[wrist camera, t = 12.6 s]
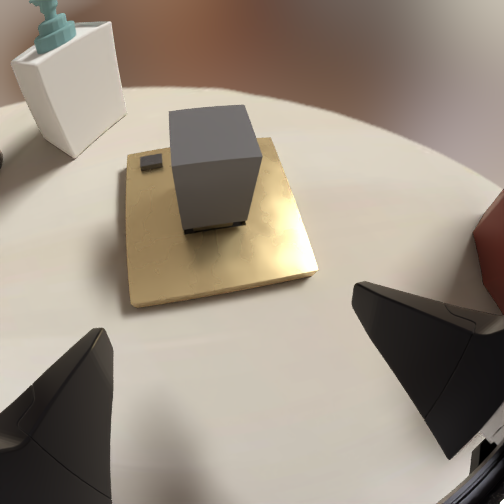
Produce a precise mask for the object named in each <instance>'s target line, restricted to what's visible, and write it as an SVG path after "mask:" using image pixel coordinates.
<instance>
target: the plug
mask: <svg viewBox="0 0 504 504" xmlns="http://www.w3.org/2000/svg"><path fill="white" fill-rule="evenodd" d="M169 130H170V151H171V167H172V173H173V179H174V185H175V191H176V197H177V202H178V208H179V213H180V218H181V223H182V229H183V230H186V229H192V228H193V230H194V231H198V230H205V229H212V228H219V227H225V226H232V225H233V222H240V221H247V219H248V215H249V211H250V207H251V202H252V198H253V194H254V190H255V186H256V182H257V178H258V174H259V170H260V165H261V161H262V157H263V156H262V153H261V150H260V147H259V145H258V142H257V139H256V136H255V133H254V130H253V128H252V125H251V122H250V119H249V116H248V114H247V111H246V108H245V106H244V105H229V106H214V107H203V108H193V109H184V110H176V111H169Z"/></svg>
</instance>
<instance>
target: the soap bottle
mask: <svg viewBox="0 0 504 504" xmlns="http://www.w3.org/2000/svg"><path fill="white" fill-rule="evenodd" d="M29 2H30V3H33V4H34V5H35V6H40V11H41V13H43V14H44V16H45V21H44V22H42V23H41V24H40V25H39V27H38V30H39V34H40V35H39V36H38V37H37V38H36V39H35V40H34V43H35V45H34V46H32V47H31V48H29V49H28V50H26V51H25V52H23V53H22V54H20V55H19V56H18V57H16V58H15V59H14V60H12V61H11V66H12V69H13V71H14V74H15V76H16V79H17V81H18V84H19V86H20V89H21V91H22V93H23V96H24V98H25V100H26V103H27V105H28V107H29V109H30V111H31V113H32V115H33V117H34V120H35V122H36V124H37V126H38V128H39V130H40V132H41V133H42V135H43V137H44V139H46V140H47V141H49V142H50V143H52V144H53V145H55V146H56V147H58V148H59V149H61V150H62V151H64V152H65V153H67V154H68V155H69V156H71V157H72V158H74V159H75V158H77V157H78V156H79V155H80V154H81V153H82V152H83V151H84V150H85V149H86V148H87V147H88V146H89V145H90V144H92V143H93V142H94V141H95V140H96V139H97V138H98V137H100V136H101V135H102V134H103V133H104V132H105V131H107V130H108V129H109V128H110V127H111V126H113V125H114V124H115V123H116V122H118V121H119V120H120V119H121V118H123V117H124V116H125V115H126V114H127V108H126V104H125V99H124V95H123V90H122V85H121V80H120V75H119V70H118V64H117V59H116V52H115V47H114V39H113V32H112V26H111V22H83V23H74V21H67V20H66V15H65V14H64V13H61V14H58V15H56V6H57V4H58V3H57V0H30V1H29Z"/></svg>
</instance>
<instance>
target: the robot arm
mask: <svg viewBox="0 0 504 504" xmlns="http://www.w3.org/2000/svg"><path fill="white" fill-rule="evenodd" d="M352 307H353V309H354V311H355V313H356V315H357V316H358V318H359V320H360V322H361V323H362V325H363V327H364V329H365V331H366V332H367V334H368V336H369V338H370V339H371V341H372V342H373V343H374V345H375V346H376V348H377V349H378V351H379V352H380V354H381V355H382V356H383V358H384V359H385V361H386V362H387V364H388V365H389V367H390V368H391V370H392V371H393V373H394V374H395V375H396V377H397V378H398V380H399V381H400V383H401V384H402V386H403V387H404V389H405V391H406V392H407V394H408V395H409V397H410V398H411V400H412V401H413V403H414V404H415V406H416V408H417V409H418V411H419V412H420V414H421V415H422V417H423V419H424V420H425V422H426V424H427V425H428V427H429V428H430V430H431V432H432V433H433V435H434V437H435V438H436V440H437V442H438V443H439V445H440V447H441V448H442V450H443V452H444V454H445V455H446V457H447V458H448V459H449V460H450V459H451V458H453V457H454V456H455V455H456V454H457V453H458V452H460V451H461V450H462V449H463V448H464V447H465V446H466V445H467V444H468V443H469V442H470V441H471V440H473V439H474V438H475V437H476V436H477V435H478V434H479V433H480V432H481V434H482V435H483V436H484V437H485V439H484V440H483V441H482V442H481V443H480V444H479V445H478V446H477V447H476V448H475V449H474V450H473V451H472V457H471V465H470V473H469V476H468V477H467V478H466V479H465V480H464V481H463V482H462V483H460V484H459V485H458V486H457V487H456V488H455V489H454V490H452V491H451V492H450V493H449V494H448V495H446V496H445V497H444V498H443V499H442V500H440V501H439V502H438V503H436V504H504V315H494V314H490V313H485V312H480V311H475V310H470V309H466V308H462V307H458V306H454V305H450V304H446V303H442V302H439V301H435V300H432V299H428V298H424V297H421V296H417V295H413V294H410V293H406V292H403V291H399V290H395V289H392V288H388V287H384V286H381V285H377V284H373V283H370V282H366V281H363V282H359V283H356V284H355V285H354V289H353V296H352ZM112 401H113V347H112V345H111V342H110V340H109V338H108V335H107V333H106V331H105V329H104V328H93V329H92V330H90V331H89V332H88V333H87V334H86V335H85V336H84V337H83V338H81V339H80V340H79V341H78V342H77V343H76V344H75V345H74V346H72V347H71V348H70V349H69V350H68V351H67V352H66V353H65V354H64V355H63V356H61V357H60V358H59V359H58V360H57V361H56V362H55V363H54V364H53V365H52V366H51V367H50V368H49V369H47V370H46V371H45V372H44V373H43V374H42V375H41V376H40V377H39V378H38V379H37V380H36V381H35V382H34V383H33V385H31V386H30V387H29V388H28V389H27V390H26V391H25V392H23V393H22V394H21V395H20V396H19V397H18V398H17V399H16V400H15V401H14V402H13V403H11V404H10V405H9V406H8V407H7V408H6V409H5V410H3V411H2V412H1V413H0V504H112V500H111V479H110V434H111V414H112Z"/></svg>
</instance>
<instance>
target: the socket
mask: <svg viewBox="0 0 504 504" xmlns="http://www.w3.org/2000/svg"><path fill="white" fill-rule="evenodd" d="M256 139H257V142H258V145H259V147H260V150H261V153H262V156H263V157H262V161H261V165H260V170H259V174H258V178H257V182H256V186H255V190H254V194H253V198H252V202H251V207H250V211H249V215H248V219H247V221H240V222H233V225H232V226H225V227H219V228H212V229H205V230H198V231H194V230H193V228H192V229H186V230H183V229H182V223H181V218H180V213H179V208H178V202H177V197H176V191H175V185H174V179H173V173H172V167H171V151H170V148H163V149H157V150H152V151H146V152H141V153H136V154H131V155H128V157H127V174H126V250H127V268H128V281H129V292H130V301H131V304H132V305H133V306H134V307H136V308H140V307H147V306H153V305H160V304H166V303H172V302H178V301H184V300H190V299H196V298H202V297H207V296H213V295H219V294H224V293H230V292H235V291H240V290H245V289H251V288H256V287H261V286H266V285H271V284H276V283H281V282H286V281H291V280H295V279H300V278H305V277H309V276H312V275H313V274H315V273H316V272H317V271H318V267H317V264H316V261H315V258H314V255H313V252H312V249H311V246H310V243H309V240H308V237H307V234H306V231H305V228H304V225H303V222H302V219H301V216H300V213H299V211H298V208H297V205H296V202H295V199H294V197H293V194H292V191H291V189H290V186H289V183H288V181H287V178H286V175H285V173H284V170H283V167H282V165H281V162H280V160H279V157H278V155H277V152H276V150H275V147H274V145H273V142H272V140H271V138H256Z"/></svg>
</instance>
